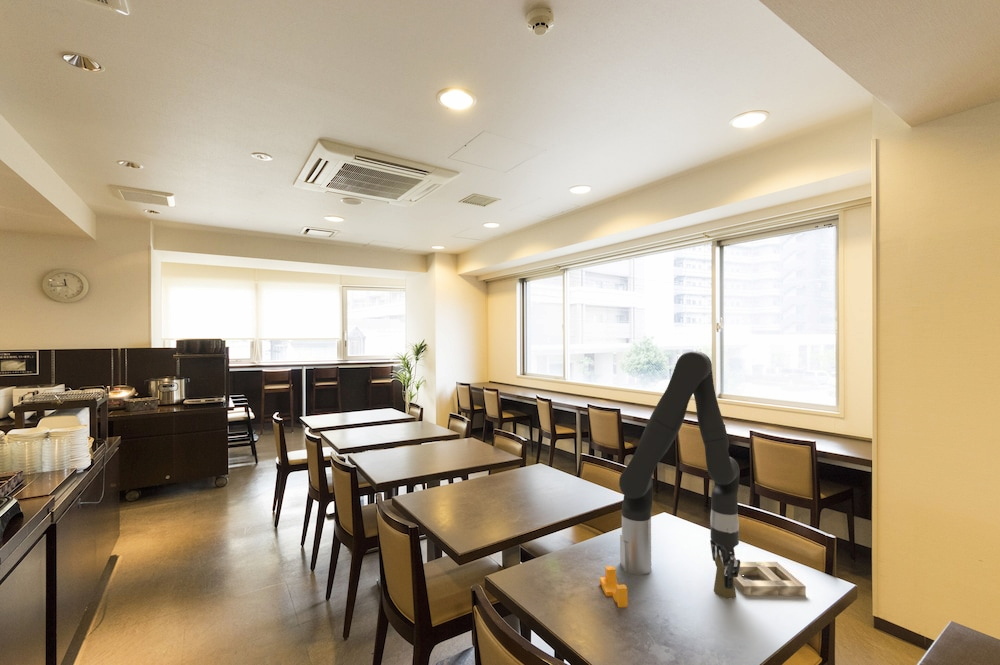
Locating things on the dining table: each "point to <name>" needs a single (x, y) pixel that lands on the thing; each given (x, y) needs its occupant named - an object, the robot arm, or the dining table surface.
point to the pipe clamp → (614, 587)
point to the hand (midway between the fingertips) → (724, 583)
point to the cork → (722, 581)
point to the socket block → (767, 580)
